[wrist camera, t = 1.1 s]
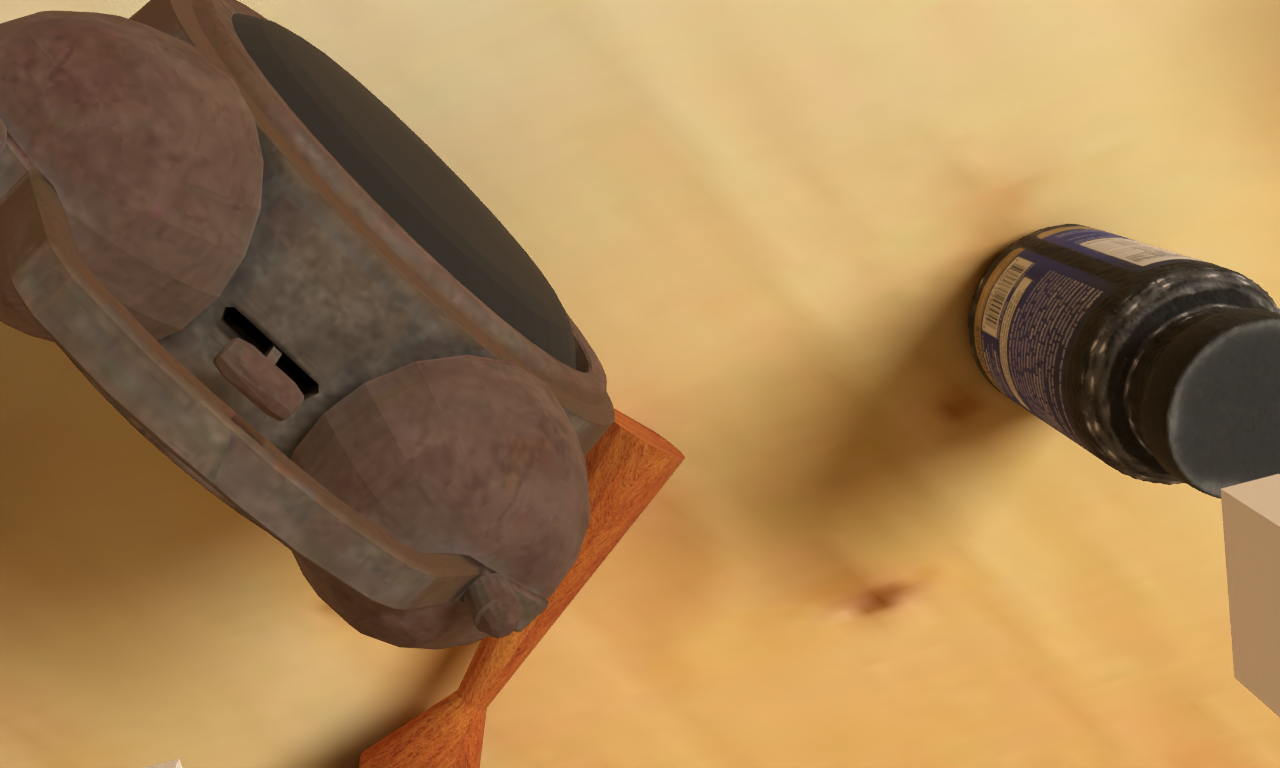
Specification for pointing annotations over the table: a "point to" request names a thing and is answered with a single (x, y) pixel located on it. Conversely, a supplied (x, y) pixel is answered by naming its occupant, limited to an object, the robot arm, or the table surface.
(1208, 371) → the pill bottle
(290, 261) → the alarm clock
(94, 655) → the table surface
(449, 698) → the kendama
